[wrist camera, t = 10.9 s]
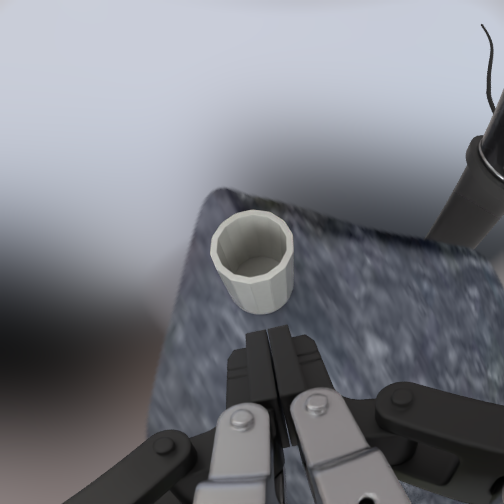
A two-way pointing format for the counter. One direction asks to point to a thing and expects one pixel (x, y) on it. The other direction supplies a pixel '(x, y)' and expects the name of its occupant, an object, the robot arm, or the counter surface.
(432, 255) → the counter surface
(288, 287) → the pot
